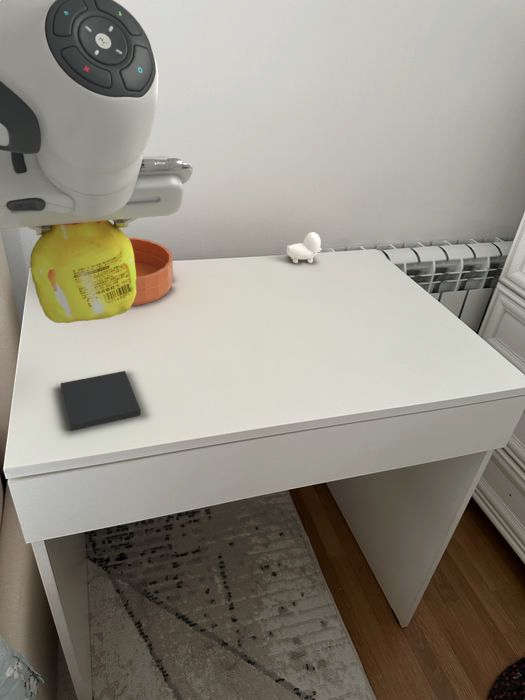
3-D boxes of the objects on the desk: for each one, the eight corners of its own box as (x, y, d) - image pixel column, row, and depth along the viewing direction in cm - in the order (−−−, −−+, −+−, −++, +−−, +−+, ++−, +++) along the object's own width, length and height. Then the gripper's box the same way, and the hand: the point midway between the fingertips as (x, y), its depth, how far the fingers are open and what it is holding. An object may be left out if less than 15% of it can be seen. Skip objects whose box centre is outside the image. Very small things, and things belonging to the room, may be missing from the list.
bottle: (44, 337, 63) (10, 164, 51) (38, 310, 67) (4, 147, 56) (144, 319, 67) (133, 157, 56) (132, 295, 72) (119, 141, 61)
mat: (71, 430, 69) (70, 425, 68) (61, 388, 75) (60, 383, 75) (140, 415, 72) (140, 409, 72) (125, 376, 79) (125, 370, 78)
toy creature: (323, 264, 115) (327, 237, 111) (287, 265, 113) (290, 237, 110) (316, 255, 119) (321, 228, 115) (282, 255, 117) (285, 228, 113)
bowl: (87, 313, 91) (83, 285, 88) (71, 268, 104) (67, 242, 101) (184, 299, 98) (184, 272, 95) (158, 258, 111) (157, 233, 107)
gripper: (189, 130, 53) (163, 193, 66) (-42, 135, 45) (-21, 205, 58) (204, 190, 52) (174, 242, 65) (-29, 205, 44) (-10, 261, 57)
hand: (81, 225), depth 61 cm, fingers closed on bottle, 7 cm apart
